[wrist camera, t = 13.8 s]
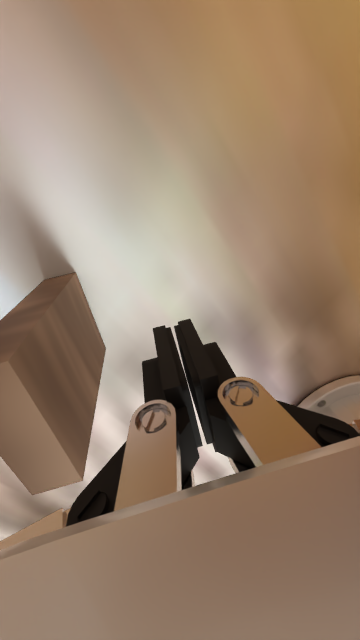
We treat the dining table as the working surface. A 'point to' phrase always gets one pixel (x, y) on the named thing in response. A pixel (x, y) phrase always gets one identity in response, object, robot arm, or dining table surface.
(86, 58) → the dining table surface
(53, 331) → the domino
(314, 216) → the dining table surface
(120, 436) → the dining table surface
